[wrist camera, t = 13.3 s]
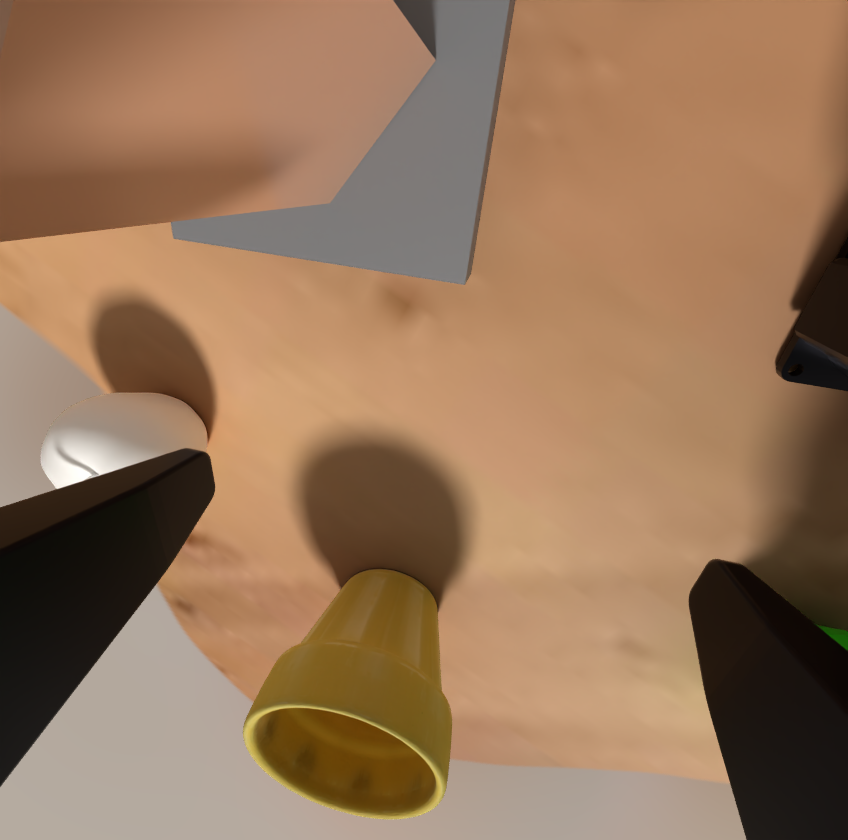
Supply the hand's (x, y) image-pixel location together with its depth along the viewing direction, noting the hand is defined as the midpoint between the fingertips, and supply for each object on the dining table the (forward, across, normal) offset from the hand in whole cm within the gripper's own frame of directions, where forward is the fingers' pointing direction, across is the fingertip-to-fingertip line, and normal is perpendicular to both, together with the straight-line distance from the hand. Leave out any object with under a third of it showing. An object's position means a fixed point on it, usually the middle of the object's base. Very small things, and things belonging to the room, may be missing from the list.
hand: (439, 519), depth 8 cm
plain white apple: (+13, +17, +9) cm, 23 cm away
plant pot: (+13, +3, +20) cm, 24 cm away
